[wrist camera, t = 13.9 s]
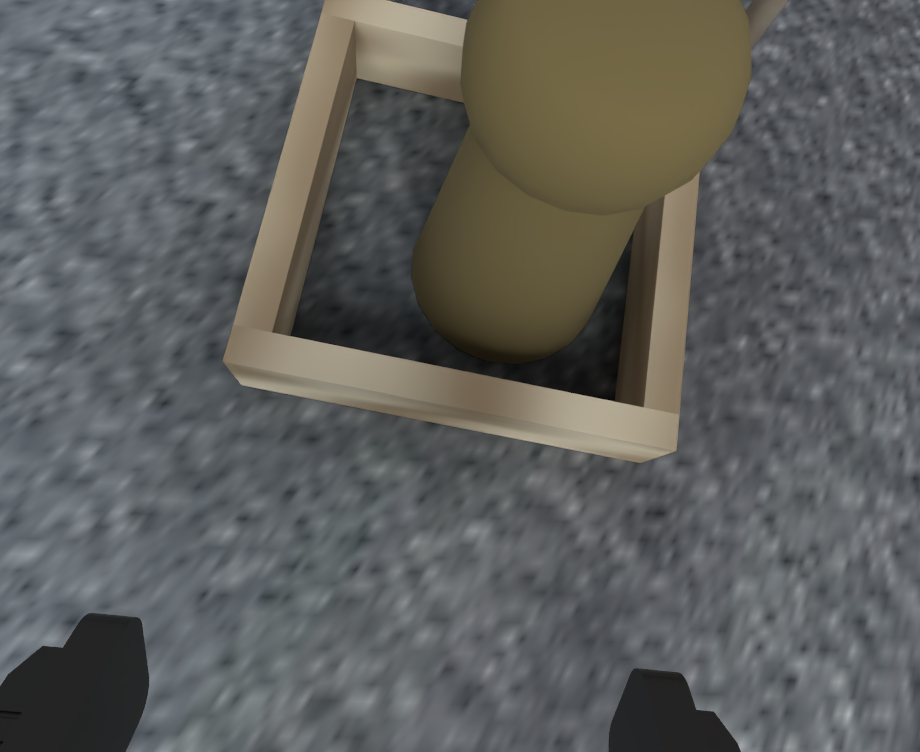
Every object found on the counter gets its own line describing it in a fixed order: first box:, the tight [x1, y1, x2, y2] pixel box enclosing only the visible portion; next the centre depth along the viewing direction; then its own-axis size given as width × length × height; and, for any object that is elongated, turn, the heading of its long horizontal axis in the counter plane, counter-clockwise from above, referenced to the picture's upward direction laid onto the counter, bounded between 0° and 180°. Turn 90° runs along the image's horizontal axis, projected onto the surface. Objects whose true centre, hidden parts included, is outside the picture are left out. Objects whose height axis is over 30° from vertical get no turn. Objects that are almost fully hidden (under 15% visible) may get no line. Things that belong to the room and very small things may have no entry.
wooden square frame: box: [223, 0, 789, 463], centre depth 14 cm, size 17×13×16 cm
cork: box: [412, 0, 751, 364], centre depth 16 cm, size 6×6×11 cm
